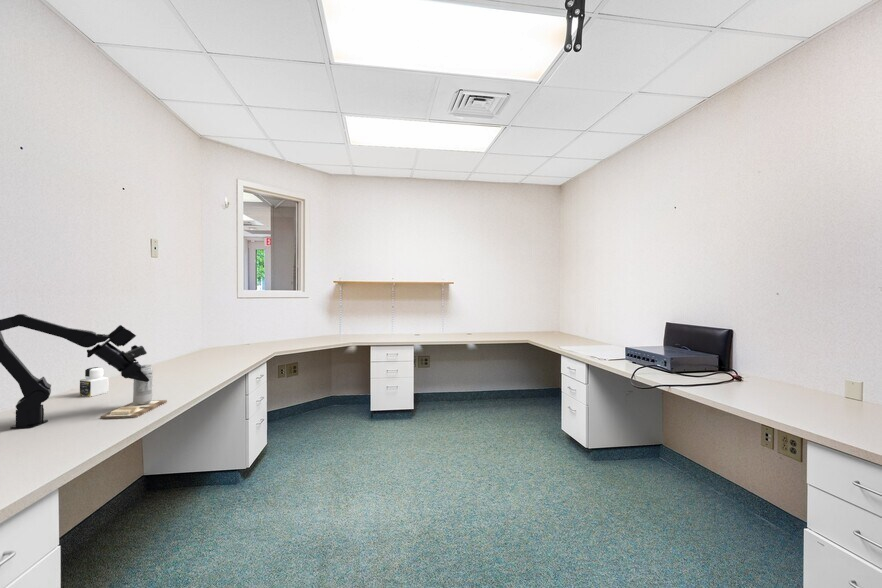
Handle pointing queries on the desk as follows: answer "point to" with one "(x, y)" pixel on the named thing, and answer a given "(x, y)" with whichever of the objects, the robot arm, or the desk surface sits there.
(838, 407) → the desk surface
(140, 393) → the energy drink can
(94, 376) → the medicine bottle
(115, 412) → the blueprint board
